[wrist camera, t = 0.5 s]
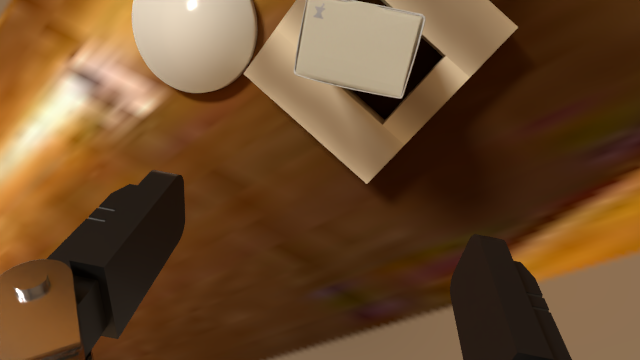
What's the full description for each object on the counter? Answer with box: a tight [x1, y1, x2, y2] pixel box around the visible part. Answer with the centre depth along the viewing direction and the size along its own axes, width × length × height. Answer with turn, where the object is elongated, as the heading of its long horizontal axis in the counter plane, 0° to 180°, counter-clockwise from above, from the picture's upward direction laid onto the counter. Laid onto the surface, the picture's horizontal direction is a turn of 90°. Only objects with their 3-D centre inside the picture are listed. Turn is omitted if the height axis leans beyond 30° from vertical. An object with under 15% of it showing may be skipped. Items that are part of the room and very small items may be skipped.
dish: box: [132, 0, 258, 93], centre depth 34 cm, size 11×11×1 cm
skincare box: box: [294, 0, 426, 99], centre depth 26 cm, size 6×4×12 cm
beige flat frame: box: [244, 0, 518, 184], centre depth 31 cm, size 15×13×3 cm
